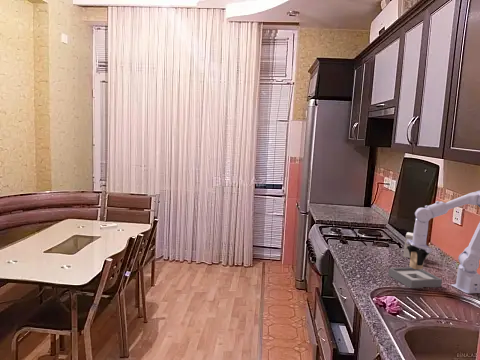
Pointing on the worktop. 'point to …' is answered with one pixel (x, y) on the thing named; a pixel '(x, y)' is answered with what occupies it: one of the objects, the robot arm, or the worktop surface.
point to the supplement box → (406, 251)
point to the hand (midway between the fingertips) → (416, 263)
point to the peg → (414, 261)
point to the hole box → (414, 277)
